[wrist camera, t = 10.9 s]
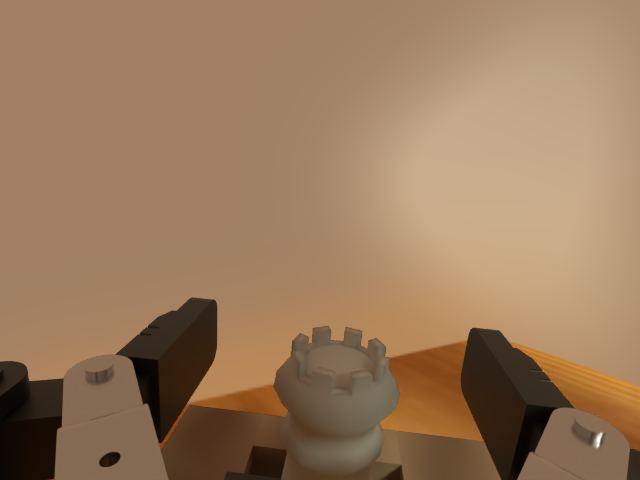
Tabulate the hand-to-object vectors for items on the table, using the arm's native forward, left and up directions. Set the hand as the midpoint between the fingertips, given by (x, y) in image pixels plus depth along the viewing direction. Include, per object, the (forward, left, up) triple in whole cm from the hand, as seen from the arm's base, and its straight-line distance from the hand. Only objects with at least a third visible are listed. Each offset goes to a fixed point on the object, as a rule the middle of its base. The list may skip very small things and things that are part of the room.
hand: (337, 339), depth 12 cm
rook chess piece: (0, +2, -7) cm, 8 cm away
